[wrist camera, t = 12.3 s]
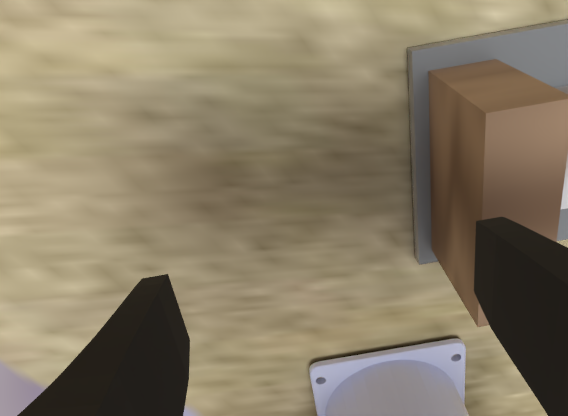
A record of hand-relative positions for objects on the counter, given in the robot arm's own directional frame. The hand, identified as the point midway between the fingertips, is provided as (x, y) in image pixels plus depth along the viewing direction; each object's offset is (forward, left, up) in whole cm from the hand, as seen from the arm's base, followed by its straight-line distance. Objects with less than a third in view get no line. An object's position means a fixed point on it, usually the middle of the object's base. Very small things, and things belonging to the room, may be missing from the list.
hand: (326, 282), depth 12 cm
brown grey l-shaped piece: (-2, -11, -9) cm, 14 cm away
